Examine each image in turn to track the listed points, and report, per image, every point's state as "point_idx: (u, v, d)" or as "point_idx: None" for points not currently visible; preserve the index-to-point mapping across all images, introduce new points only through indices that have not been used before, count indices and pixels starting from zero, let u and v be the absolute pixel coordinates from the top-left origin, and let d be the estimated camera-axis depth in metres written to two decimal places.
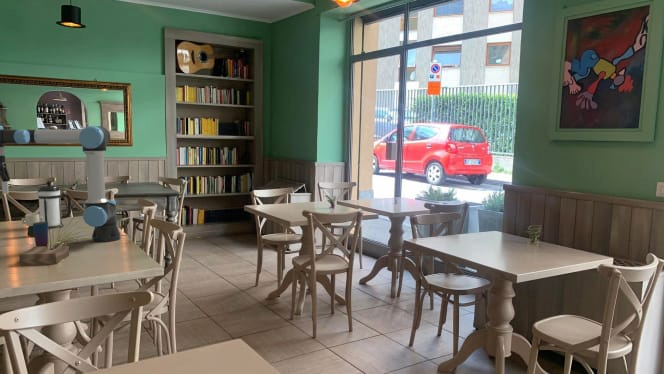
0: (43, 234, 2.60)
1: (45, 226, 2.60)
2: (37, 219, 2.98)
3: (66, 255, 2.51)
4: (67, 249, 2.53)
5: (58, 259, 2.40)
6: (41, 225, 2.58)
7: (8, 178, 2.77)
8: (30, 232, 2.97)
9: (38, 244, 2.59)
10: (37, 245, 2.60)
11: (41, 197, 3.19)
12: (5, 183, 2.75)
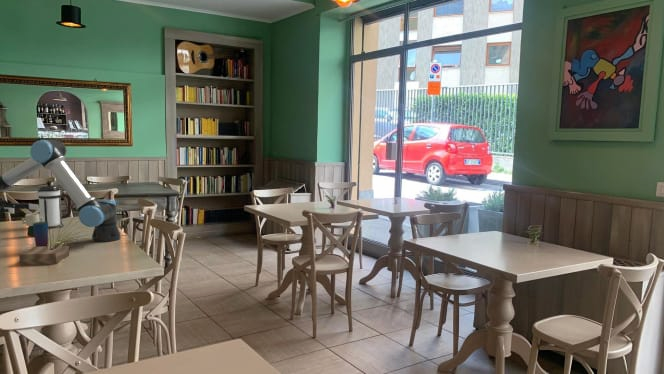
0: (43, 234, 2.60)
1: (45, 226, 2.60)
2: (37, 219, 2.98)
3: (66, 255, 2.51)
4: (67, 249, 2.53)
5: (58, 259, 2.40)
6: (41, 225, 2.58)
7: (30, 203, 2.75)
8: (30, 232, 2.97)
9: (38, 244, 2.59)
10: (37, 245, 2.60)
11: (41, 197, 3.19)
12: (30, 205, 2.72)
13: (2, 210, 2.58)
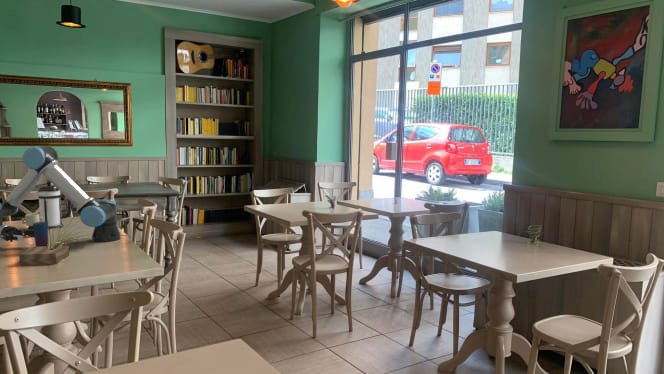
0: (43, 234, 2.60)
1: (45, 226, 2.60)
2: (37, 219, 2.98)
3: (66, 255, 2.51)
4: (67, 249, 2.53)
5: (58, 259, 2.40)
6: (41, 225, 2.58)
7: None
8: None
9: (38, 244, 2.59)
10: (37, 245, 2.60)
11: (41, 197, 3.19)
12: None
13: (11, 238, 2.57)
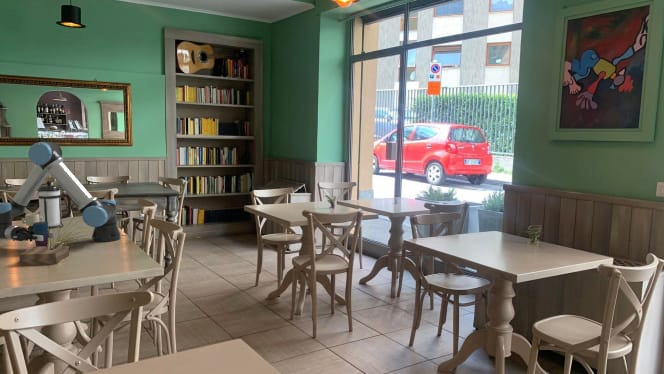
0: (43, 234, 2.60)
1: (45, 226, 2.60)
2: (37, 219, 2.98)
3: (66, 255, 2.51)
4: (67, 249, 2.53)
5: (58, 259, 2.40)
6: (41, 225, 2.58)
7: None
8: None
9: (38, 244, 2.59)
10: (37, 245, 2.60)
11: (41, 197, 3.19)
12: None
13: (31, 237, 2.57)
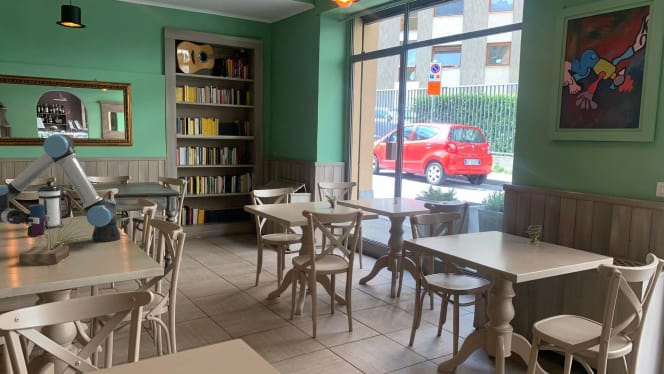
0: (40, 217, 2.53)
1: (41, 208, 2.53)
2: None
3: (66, 255, 2.51)
4: (67, 249, 2.53)
5: (58, 259, 2.40)
6: (37, 207, 2.52)
7: None
8: (30, 232, 2.97)
9: (34, 227, 2.53)
10: (33, 228, 2.53)
11: (41, 197, 3.19)
12: None
13: (27, 220, 2.51)
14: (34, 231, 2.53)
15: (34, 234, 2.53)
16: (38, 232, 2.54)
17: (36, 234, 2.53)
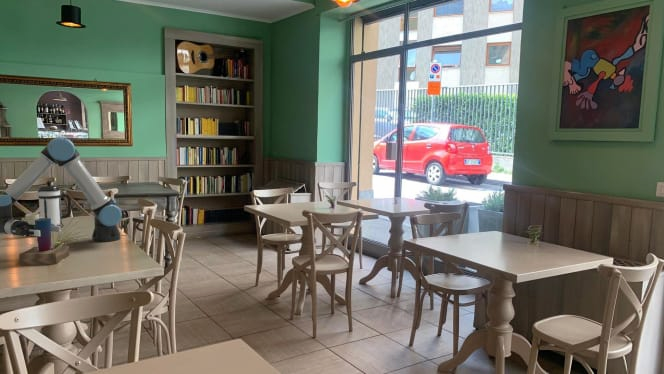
0: (46, 231, 2.42)
1: (48, 223, 2.42)
2: None
3: (66, 255, 2.51)
4: (67, 249, 2.53)
5: (58, 259, 2.40)
6: (44, 222, 2.40)
7: (51, 225, 2.52)
8: None
9: (40, 242, 2.41)
10: (39, 243, 2.42)
11: (41, 197, 3.19)
12: (51, 227, 2.49)
13: (27, 233, 2.38)
14: (40, 246, 2.42)
15: (40, 249, 2.42)
16: (45, 247, 2.42)
17: (42, 249, 2.42)
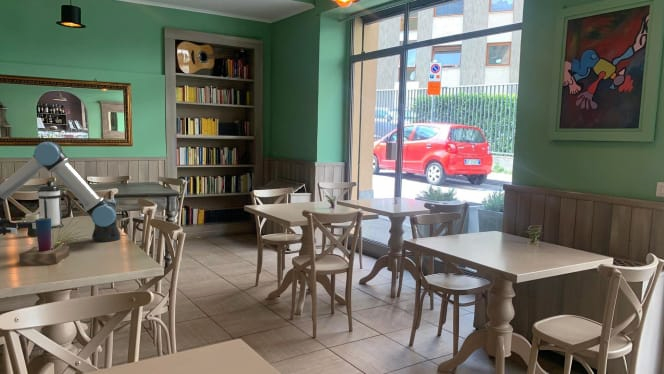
0: (46, 231, 2.42)
1: (48, 223, 2.42)
2: None
3: (66, 255, 2.51)
4: (67, 249, 2.53)
5: (58, 259, 2.40)
6: (44, 221, 2.41)
7: None
8: (30, 232, 2.97)
9: (40, 242, 2.41)
10: (39, 243, 2.42)
11: (41, 197, 3.19)
12: (33, 225, 2.55)
13: (4, 231, 2.41)
14: (40, 246, 2.42)
15: (40, 249, 2.42)
16: (45, 247, 2.42)
17: (42, 249, 2.42)
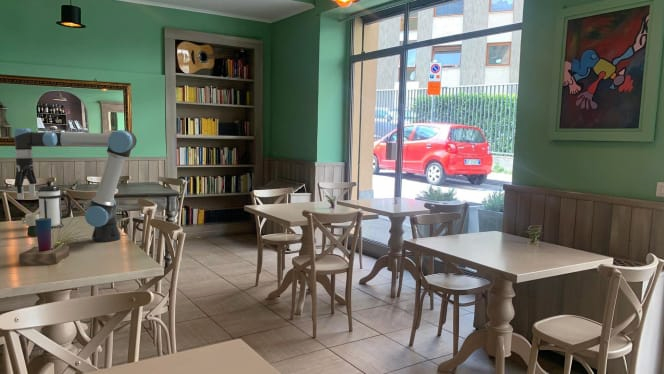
0: (46, 231, 2.42)
1: (48, 223, 2.42)
2: None
3: (66, 255, 2.51)
4: (67, 249, 2.53)
5: (58, 259, 2.40)
6: (44, 221, 2.40)
7: (35, 180, 2.78)
8: (30, 232, 2.97)
9: (40, 242, 2.41)
10: (39, 243, 2.42)
11: (41, 197, 3.19)
12: (32, 185, 2.76)
13: (18, 187, 2.61)
14: (40, 246, 2.42)
15: (40, 249, 2.42)
16: (45, 247, 2.42)
17: (42, 249, 2.42)
